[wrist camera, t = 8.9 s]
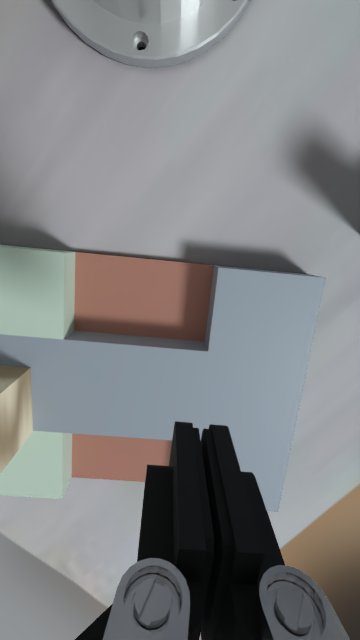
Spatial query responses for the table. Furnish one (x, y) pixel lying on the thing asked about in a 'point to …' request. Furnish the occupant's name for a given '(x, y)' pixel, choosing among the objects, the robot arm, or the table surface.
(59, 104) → the table surface
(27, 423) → the maple block
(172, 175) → the table surface
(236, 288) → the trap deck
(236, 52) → the table surface
